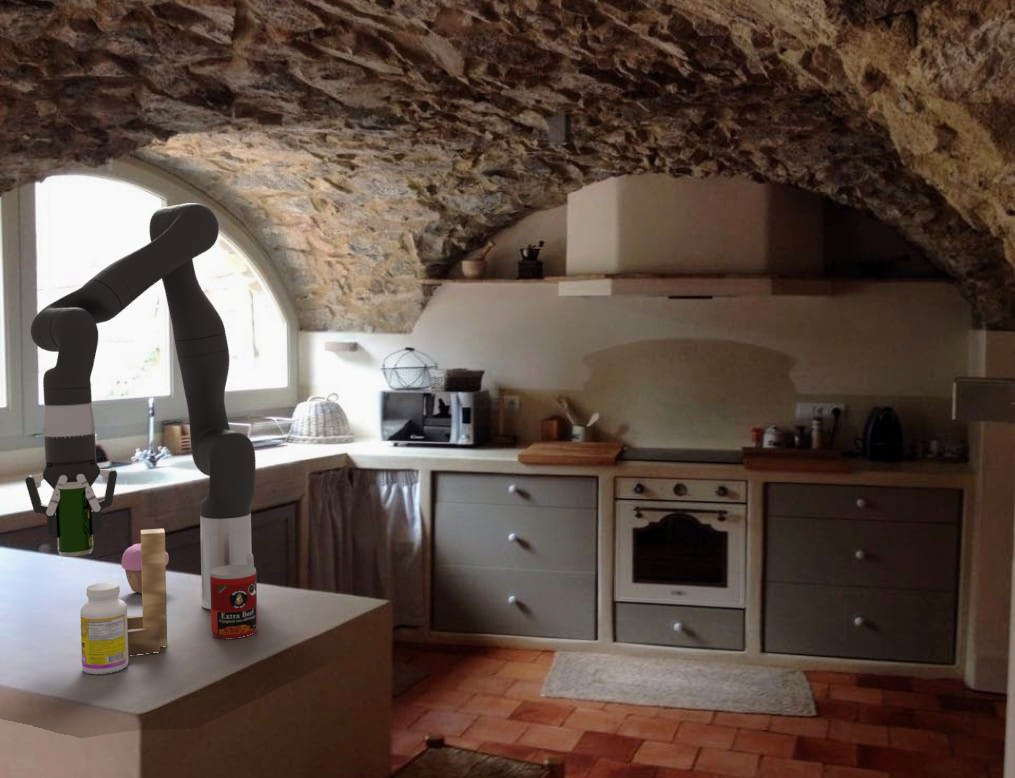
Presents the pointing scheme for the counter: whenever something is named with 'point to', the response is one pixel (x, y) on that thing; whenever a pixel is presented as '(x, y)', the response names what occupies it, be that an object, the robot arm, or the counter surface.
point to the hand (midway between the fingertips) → (75, 535)
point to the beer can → (74, 521)
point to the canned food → (233, 601)
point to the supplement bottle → (104, 630)
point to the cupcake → (135, 566)
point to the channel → (141, 637)
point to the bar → (154, 581)
